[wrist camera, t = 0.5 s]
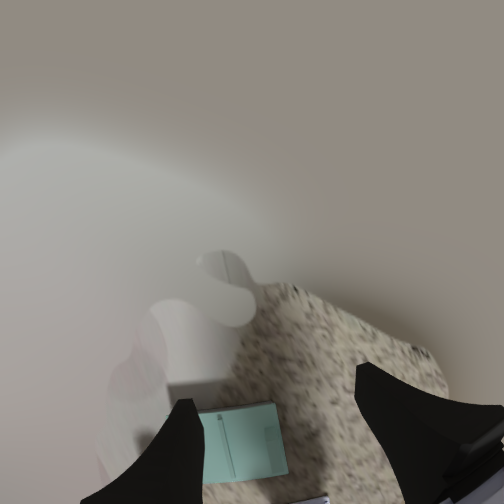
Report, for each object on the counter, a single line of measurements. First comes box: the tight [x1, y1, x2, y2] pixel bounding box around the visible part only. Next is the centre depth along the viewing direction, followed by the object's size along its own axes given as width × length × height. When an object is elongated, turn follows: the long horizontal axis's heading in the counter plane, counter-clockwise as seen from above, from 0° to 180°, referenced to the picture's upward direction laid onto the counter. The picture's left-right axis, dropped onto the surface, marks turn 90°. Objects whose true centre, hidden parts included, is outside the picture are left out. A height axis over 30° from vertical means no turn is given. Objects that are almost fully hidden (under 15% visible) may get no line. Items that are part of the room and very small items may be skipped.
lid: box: [166, 403, 289, 484], centre depth 24 cm, size 10×13×5 cm
